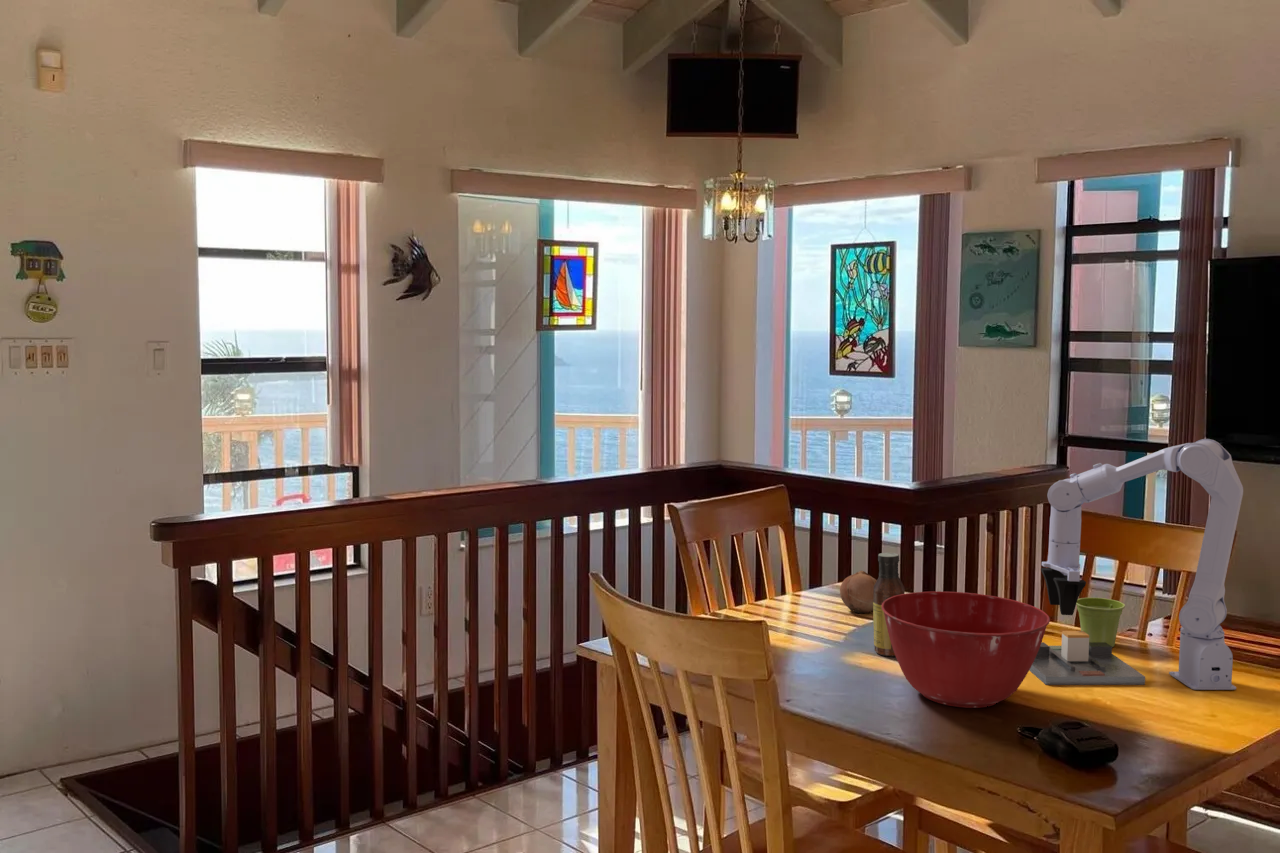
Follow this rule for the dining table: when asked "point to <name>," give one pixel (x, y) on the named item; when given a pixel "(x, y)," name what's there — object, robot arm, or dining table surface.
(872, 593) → the onion
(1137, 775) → the dining table surface
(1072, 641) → the white orange block
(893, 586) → the sauce bottle
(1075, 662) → the panel
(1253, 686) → the dining table surface
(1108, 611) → the plant pot
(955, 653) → the mixing bowl
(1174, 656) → the dining table surface
